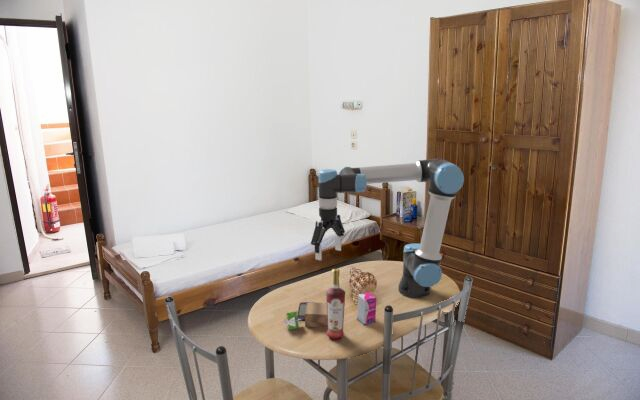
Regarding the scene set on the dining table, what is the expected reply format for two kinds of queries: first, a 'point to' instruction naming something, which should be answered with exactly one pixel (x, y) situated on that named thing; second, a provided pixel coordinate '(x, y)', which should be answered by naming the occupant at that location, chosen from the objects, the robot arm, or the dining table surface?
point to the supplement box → (366, 308)
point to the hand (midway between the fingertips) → (328, 254)
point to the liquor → (335, 307)
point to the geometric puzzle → (292, 320)
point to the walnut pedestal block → (316, 315)
